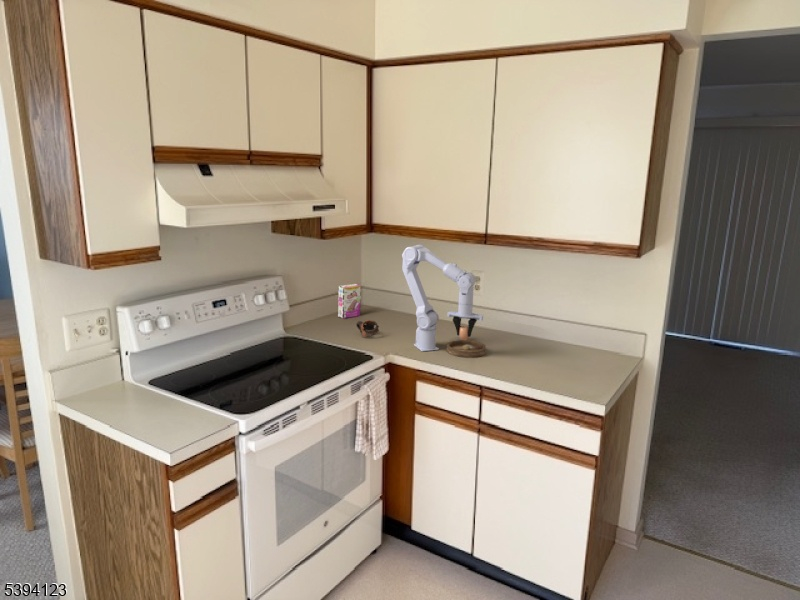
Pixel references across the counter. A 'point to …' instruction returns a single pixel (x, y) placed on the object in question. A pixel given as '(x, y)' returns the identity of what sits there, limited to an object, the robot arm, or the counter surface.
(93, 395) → the counter surface
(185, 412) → the counter surface
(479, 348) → the walnut groove tray
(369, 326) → the pottery mug
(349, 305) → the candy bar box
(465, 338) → the peach rounded cylinder
